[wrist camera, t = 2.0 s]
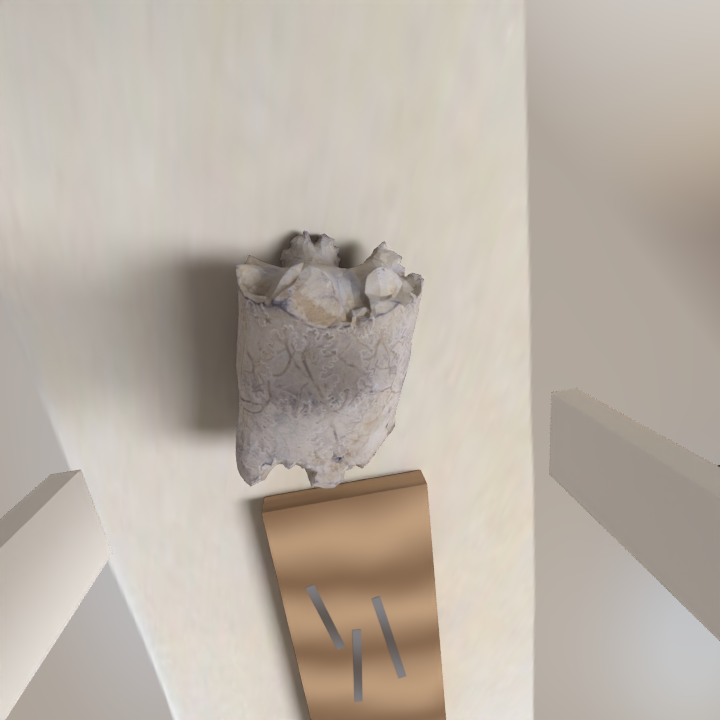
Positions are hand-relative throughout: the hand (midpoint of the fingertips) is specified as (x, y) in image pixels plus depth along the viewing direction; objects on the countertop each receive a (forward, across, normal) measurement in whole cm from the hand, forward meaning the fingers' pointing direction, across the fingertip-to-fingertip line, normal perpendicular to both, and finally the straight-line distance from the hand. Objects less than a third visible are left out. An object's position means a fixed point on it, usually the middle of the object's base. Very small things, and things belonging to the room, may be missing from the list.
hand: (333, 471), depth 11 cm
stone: (+12, 0, +1) cm, 12 cm away
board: (+12, 0, -20) cm, 24 cm away
